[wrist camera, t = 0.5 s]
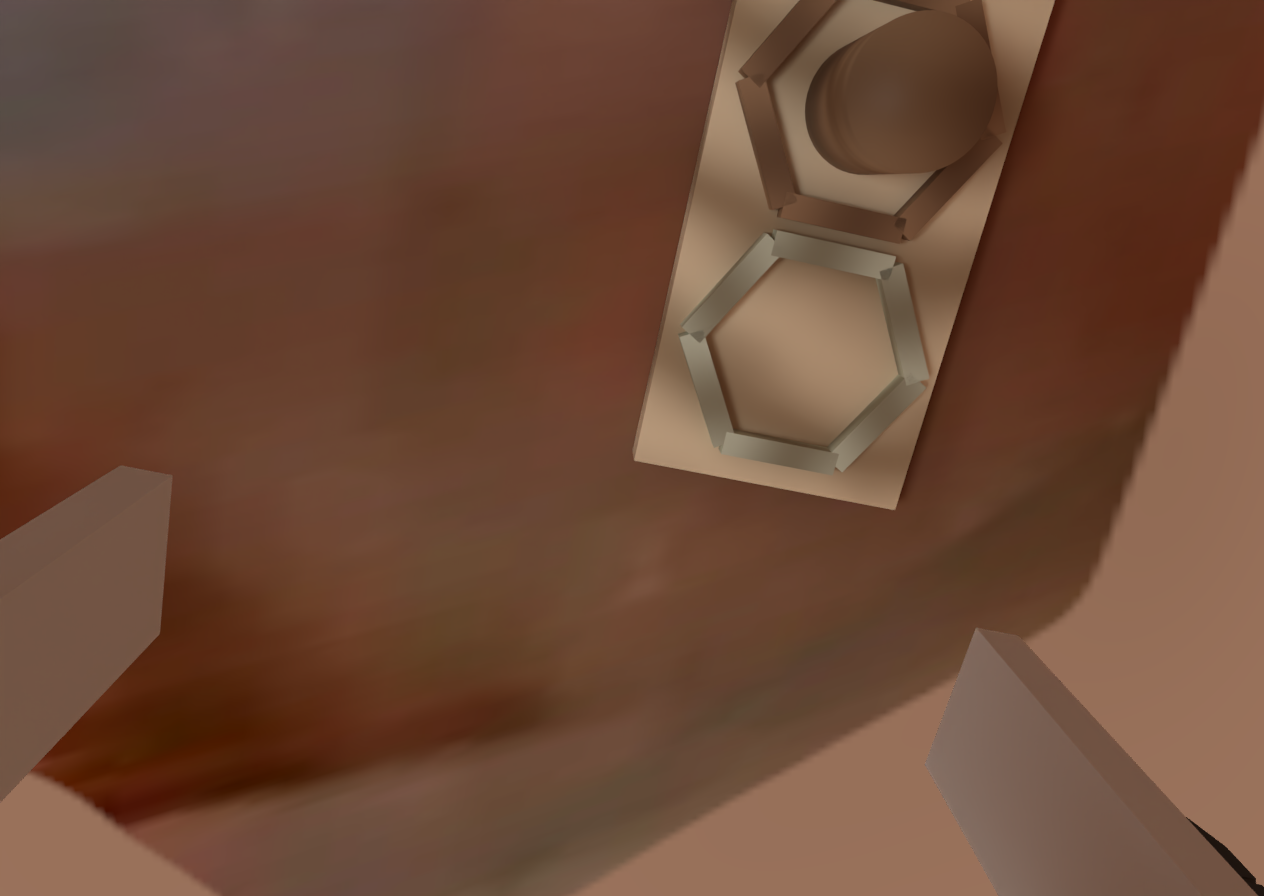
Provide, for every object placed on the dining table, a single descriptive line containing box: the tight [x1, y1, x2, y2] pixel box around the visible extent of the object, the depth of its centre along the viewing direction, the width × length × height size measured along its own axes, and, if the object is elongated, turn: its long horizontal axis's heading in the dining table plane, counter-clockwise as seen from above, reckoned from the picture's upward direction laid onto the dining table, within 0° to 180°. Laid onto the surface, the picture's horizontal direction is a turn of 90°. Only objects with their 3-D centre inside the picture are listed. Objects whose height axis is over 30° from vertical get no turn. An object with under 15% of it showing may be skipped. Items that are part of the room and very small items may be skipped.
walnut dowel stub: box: [805, 10, 997, 175], centre depth 32 cm, size 5×5×6 cm
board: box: [633, 0, 1055, 510], centre depth 37 cm, size 22×12×2 cm, turn 168°
